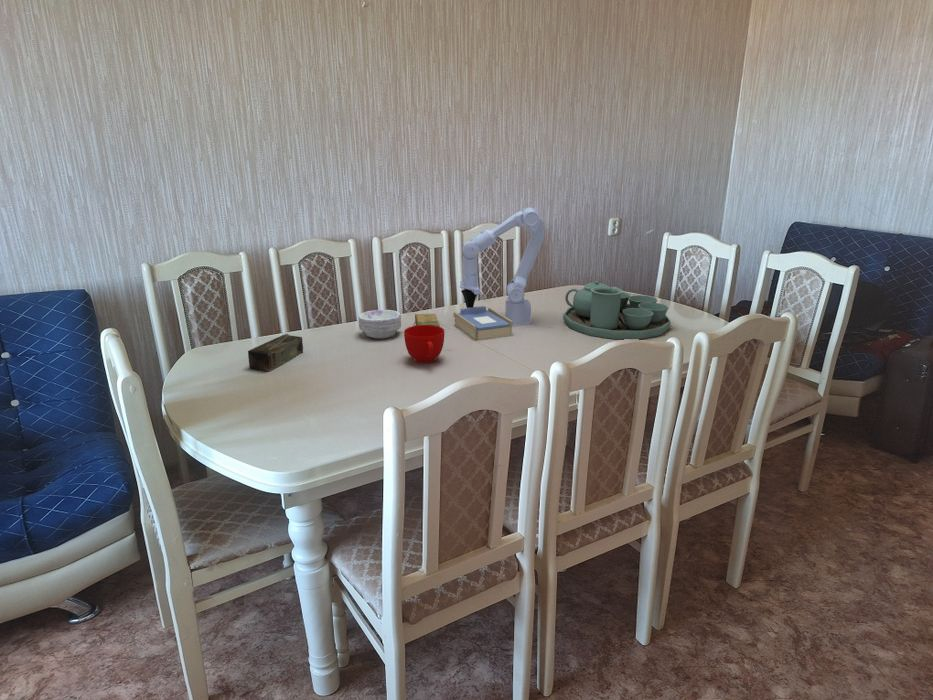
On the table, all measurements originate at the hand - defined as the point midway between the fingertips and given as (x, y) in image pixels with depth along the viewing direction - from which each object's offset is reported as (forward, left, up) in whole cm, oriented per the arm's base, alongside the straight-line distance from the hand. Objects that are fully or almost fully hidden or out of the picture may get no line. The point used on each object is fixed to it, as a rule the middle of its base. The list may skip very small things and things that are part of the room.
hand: (469, 308), depth 232 cm
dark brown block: (+74, +14, -6) cm, 75 cm away
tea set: (-52, +23, -6) cm, 57 cm away
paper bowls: (+36, +1, -6) cm, 37 cm away
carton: (+18, +1, -6) cm, 19 cm away
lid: (0, +12, -2) cm, 12 cm away
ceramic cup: (+30, +34, -6) cm, 46 cm away
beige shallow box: (0, +12, -6) cm, 13 cm away
